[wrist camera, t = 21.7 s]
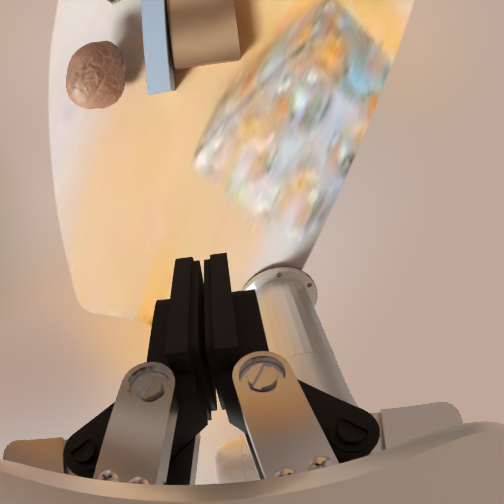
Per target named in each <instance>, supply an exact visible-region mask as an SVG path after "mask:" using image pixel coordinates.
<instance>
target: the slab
mask: <svg viewBox="0 0 504 504" xmlns="http://www.w3.org/2000/svg"><path fill="white" fill-rule="evenodd" d="M166 3H167V12H168V21H169V29H170V37H171V45H172V53H173V60H174V68H175V69H177V70H180V69H186V68H192V67H197V66H204V65H210V64H217V63H225V62H234V61H239V60H240V59H241V54H240V46H239V37H238V29H237V21H236V13H235V5H234V0H166Z"/></svg>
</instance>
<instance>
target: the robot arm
mask: <svg viewBox="0 0 504 504" xmlns="http://www.w3.org/2000/svg"><path fill="white" fill-rule="evenodd" d="M316 301H317V289H316V285H315V283H314V281H313V280H312V279H311V278H310V276H309V275H308V274H306V273H305V272H303V271H301V270H299V269H296V268H292V267H276V268H272V269H268V270H266V271H263V272H261V273H259V274H258V275H256V276H254V277H253V278H252V279H251V280H250V281H249V282H248V283H247V284H246V285H245V287H244V288H243V290H242V291H236V292H231V285H230V277H229V269H228V260H227V253H221V254H213V255H210V259H208V260H204V282H203V277H202V271H201V266H200V261H194V260H193V257H188V258H179V259H176V260H175V267H174V274H173V281H172V289H171V297H170V299H165V300H157V301H156V305H155V310H154V316H153V322H152V329H151V336H150V343H149V349H148V356H147V362H145V363H142V364H139V365H137V366H135V367H133V368H132V369H131V370H129V371H128V372H127V374H126V375H125V377H124V378H123V380H122V383H121V386H120V389H119V392H118V395H117V398H116V401H115V402H114V403H113V404H112V405H110V406H109V407H108V408H107V409H105V410H104V411H103V412H102V413H100V414H99V415H98V416H96V417H95V418H94V419H92V420H91V421H90V422H89V423H87V424H86V425H85V426H83V427H82V428H81V429H80V430H78V431H77V432H76V433H74V434H73V435H72V436H71V437H70V438H69V439H68V440H64V439H63V438H62V437H60V438H49V439H36V440H17V441H13V442H11V443H10V444H9V445H7V447H6V449H5V450H4V455H3V460H2V459H0V504H504V424H501V423H497V422H472V423H465V424H463V422H462V418H461V415H460V413H459V411H458V410H457V409H456V408H455V407H454V406H453V405H452V404H449V403H447V402H436V403H430V404H423V405H416V406H409V407H401V408H392V409H383V410H380V412H379V413H368V412H366V411H365V410H363V409H361V408H359V407H358V406H357V404H356V402H355V400H354V398H353V397H352V395H351V393H350V391H349V389H348V386H347V384H346V382H345V380H344V378H343V375H342V373H341V370H340V368H339V365H338V363H337V361H336V358H335V356H334V353H333V351H332V348H331V346H330V344H329V341H328V339H327V337H326V334H325V332H324V329H323V327H322V325H321V322H320V320H319V318H318V315H317V313H316V311H315V308H314V306H315V304H316ZM216 390H217V394H218V397H219V401H220V404H221V407H222V409H223V410H224V409H226V412H227V415H228V419H229V422H230V423H231V424H233V425H234V426H236V427H237V428H239V429H240V430H242V431H243V432H244V436H240V437H237V438H233V439H230V440H228V441H226V442H224V443H223V444H222V445H220V446H219V447H218V449H217V451H216V453H215V456H214V471H215V476H216V479H217V483H218V484H209V485H208V484H207V485H195V478H196V469H197V461H198V453H199V444H200V431H201V430H202V429H203V428H205V427H206V426H207V425H208V421H207V420H211V411H214V410H217V401H216Z"/></svg>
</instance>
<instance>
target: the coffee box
mask: <svg viewBox="0 0 504 504" xmlns="http://www.w3.org/2000/svg"><path fill="white" fill-rule="evenodd" d="M108 1H109V2H110V3H111V4H115V3H117V2H118V1H120V0H108Z"/></svg>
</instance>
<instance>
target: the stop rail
mask: <svg viewBox="0 0 504 504" xmlns="http://www.w3.org/2000/svg"><path fill="white" fill-rule="evenodd" d="M141 13H142V30H143V45H144V57H145V68H146V78H147V88H148V95H151V94H156V93H162V92H168V91H174V90H175V82H174V71H173V60H172V48H171V37H170V29H169V21H168V12H167V3H166V0H141Z"/></svg>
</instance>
